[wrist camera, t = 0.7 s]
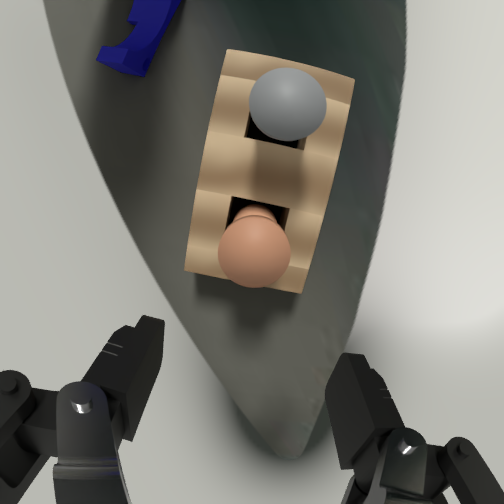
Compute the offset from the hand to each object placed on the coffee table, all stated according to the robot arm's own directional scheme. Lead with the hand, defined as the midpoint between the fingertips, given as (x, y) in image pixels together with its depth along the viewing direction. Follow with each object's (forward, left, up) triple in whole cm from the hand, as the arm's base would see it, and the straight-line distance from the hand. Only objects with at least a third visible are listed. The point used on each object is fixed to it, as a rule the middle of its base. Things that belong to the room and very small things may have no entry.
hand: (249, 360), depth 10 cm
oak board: (-5, 0, -22) cm, 22 cm away
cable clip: (-19, -16, -22) cm, 33 cm away
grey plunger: (-10, 0, -18) cm, 21 cm away
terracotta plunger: (0, 0, -18) cm, 18 cm away
